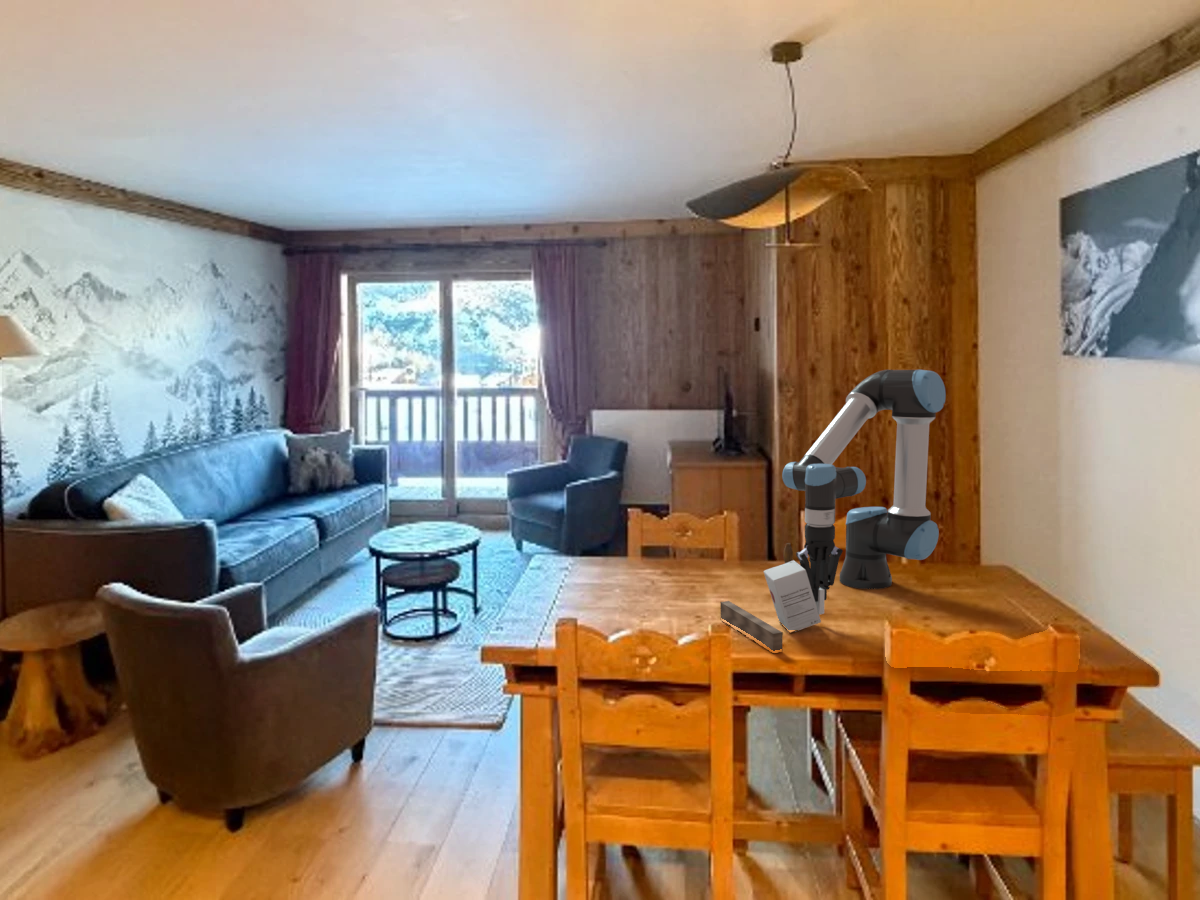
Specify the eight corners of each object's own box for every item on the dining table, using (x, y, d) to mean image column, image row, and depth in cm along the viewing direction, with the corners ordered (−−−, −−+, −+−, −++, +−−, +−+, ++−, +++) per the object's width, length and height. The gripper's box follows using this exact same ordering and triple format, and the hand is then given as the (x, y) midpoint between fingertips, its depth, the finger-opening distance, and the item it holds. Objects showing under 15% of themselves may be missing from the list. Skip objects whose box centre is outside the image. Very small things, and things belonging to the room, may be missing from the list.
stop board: (720, 620, 214) (720, 602, 213) (728, 618, 215) (728, 600, 214) (773, 654, 190) (773, 633, 189) (782, 652, 191) (782, 632, 190)
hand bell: (804, 594, 234) (804, 541, 232) (798, 602, 227) (799, 547, 225) (776, 591, 238) (776, 538, 236) (769, 599, 231) (769, 545, 228)
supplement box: (778, 622, 211) (762, 570, 209) (809, 611, 212) (794, 559, 210) (789, 634, 202) (772, 580, 200) (822, 622, 203) (806, 568, 201)
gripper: (806, 529, 200) (805, 620, 203) (850, 524, 204) (848, 613, 207) (789, 523, 207) (789, 611, 210) (832, 519, 211) (830, 605, 214)
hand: (818, 612), depth 209 cm, fingers closed
